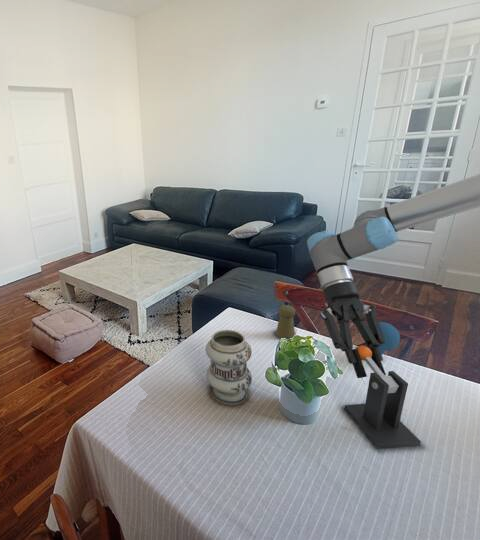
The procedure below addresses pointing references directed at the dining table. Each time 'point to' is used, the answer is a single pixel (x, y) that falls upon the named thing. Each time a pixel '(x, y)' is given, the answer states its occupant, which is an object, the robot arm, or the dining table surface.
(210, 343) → the apothecary jar
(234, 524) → the dining table surface
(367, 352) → the switch lever
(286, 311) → the cork
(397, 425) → the switch bracket
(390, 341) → the light bulb
